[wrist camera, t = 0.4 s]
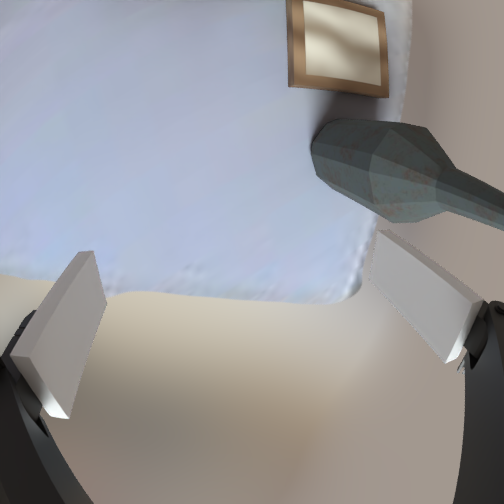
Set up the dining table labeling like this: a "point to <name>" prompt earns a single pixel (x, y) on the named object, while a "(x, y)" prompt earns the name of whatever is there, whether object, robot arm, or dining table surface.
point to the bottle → (400, 173)
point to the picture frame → (337, 47)
